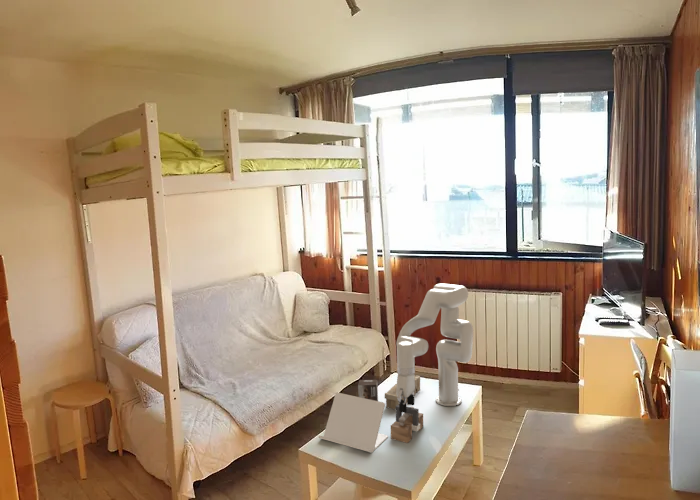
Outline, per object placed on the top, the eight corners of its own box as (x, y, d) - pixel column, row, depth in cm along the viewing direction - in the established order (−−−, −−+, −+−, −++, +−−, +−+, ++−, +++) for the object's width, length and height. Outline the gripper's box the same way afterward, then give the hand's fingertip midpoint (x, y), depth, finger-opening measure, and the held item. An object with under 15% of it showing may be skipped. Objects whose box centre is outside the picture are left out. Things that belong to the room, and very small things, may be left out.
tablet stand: (340, 425, 242) (338, 390, 239) (388, 437, 229) (387, 400, 226) (318, 442, 226) (316, 405, 224) (368, 456, 213) (367, 417, 211)
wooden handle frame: (407, 422, 241) (406, 403, 240) (423, 426, 237) (423, 406, 236) (390, 438, 227) (390, 418, 226) (407, 443, 223) (407, 421, 221)
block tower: (407, 389, 282) (384, 409, 257) (406, 373, 281) (383, 392, 256) (420, 391, 278) (398, 411, 253) (420, 376, 277) (398, 395, 252)
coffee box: (378, 411, 254) (377, 379, 252) (378, 417, 248) (377, 384, 246) (360, 411, 255) (359, 379, 253) (359, 417, 249) (357, 384, 247)
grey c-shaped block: (397, 423, 236) (397, 403, 235) (420, 428, 230) (420, 408, 229) (394, 426, 233) (394, 406, 232) (417, 431, 227) (416, 411, 226)
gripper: (406, 362, 237) (407, 399, 240) (389, 375, 223) (390, 414, 225) (421, 364, 234) (422, 402, 236) (405, 378, 219) (406, 418, 221)
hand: (406, 408), depth 230 cm, fingers open, 7 cm apart
